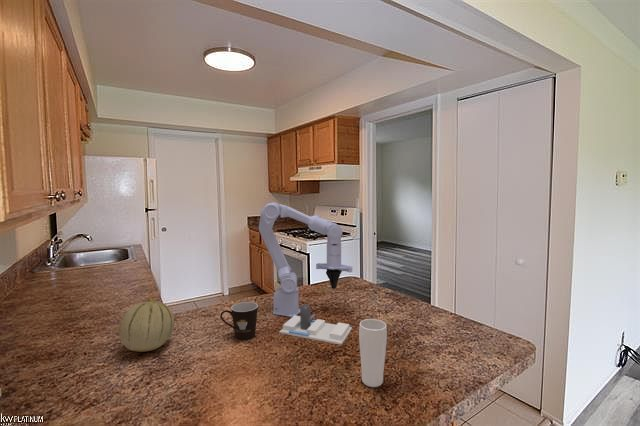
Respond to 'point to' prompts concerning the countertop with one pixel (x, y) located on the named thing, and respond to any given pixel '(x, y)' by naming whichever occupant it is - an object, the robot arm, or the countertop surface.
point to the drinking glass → (372, 351)
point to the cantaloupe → (146, 326)
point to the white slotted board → (317, 330)
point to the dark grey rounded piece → (305, 316)
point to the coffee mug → (243, 320)
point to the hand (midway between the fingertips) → (334, 288)
